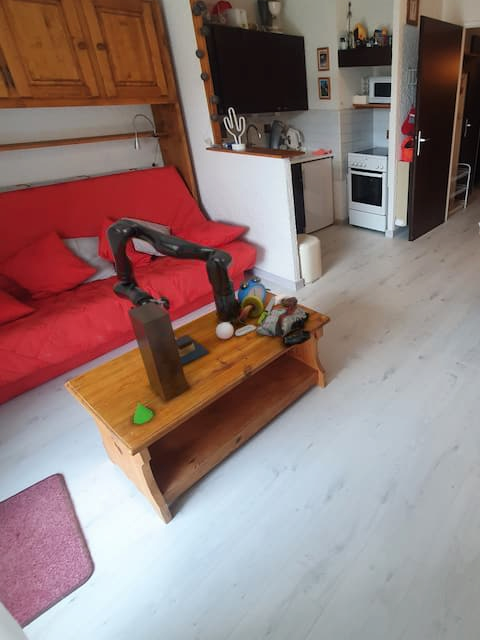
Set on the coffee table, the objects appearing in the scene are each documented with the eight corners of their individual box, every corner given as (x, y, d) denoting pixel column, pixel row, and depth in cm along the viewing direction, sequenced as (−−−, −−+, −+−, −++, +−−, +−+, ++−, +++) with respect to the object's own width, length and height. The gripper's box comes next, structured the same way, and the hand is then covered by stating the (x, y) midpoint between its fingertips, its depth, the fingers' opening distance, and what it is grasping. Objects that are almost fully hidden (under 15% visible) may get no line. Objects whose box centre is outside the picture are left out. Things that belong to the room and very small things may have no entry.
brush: (174, 333, 166) (171, 323, 164) (195, 350, 156) (192, 340, 154) (160, 339, 162) (157, 329, 160) (181, 357, 152) (178, 346, 150)
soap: (237, 338, 166) (237, 336, 166) (232, 332, 169) (232, 331, 168) (257, 329, 172) (257, 327, 172) (252, 324, 175) (252, 322, 174)
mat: (186, 336, 166) (186, 334, 166) (208, 353, 156) (208, 351, 155) (159, 349, 158) (158, 347, 158) (180, 367, 148) (179, 365, 147)
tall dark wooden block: (172, 375, 144) (152, 301, 130) (188, 389, 137) (169, 313, 123) (150, 386, 138) (127, 310, 124) (166, 402, 131) (143, 323, 117)
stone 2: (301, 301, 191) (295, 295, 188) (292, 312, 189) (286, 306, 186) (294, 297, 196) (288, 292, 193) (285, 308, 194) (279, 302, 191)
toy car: (282, 344, 158) (285, 351, 160) (309, 334, 159) (312, 341, 161) (282, 336, 163) (285, 343, 165) (308, 327, 164) (311, 334, 166)
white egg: (217, 320, 160) (219, 319, 167) (212, 337, 159) (214, 336, 166) (241, 326, 162) (242, 325, 170) (236, 343, 162) (237, 341, 169)
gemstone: (147, 407, 129) (142, 394, 126) (157, 415, 126) (152, 401, 123) (129, 418, 125) (124, 405, 122) (139, 427, 122) (134, 413, 119)
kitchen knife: (278, 298, 193) (272, 296, 193) (279, 296, 192) (273, 294, 192) (262, 326, 175) (256, 324, 174) (263, 324, 174) (256, 322, 174)
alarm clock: (246, 313, 184) (242, 285, 177) (238, 309, 187) (234, 282, 180) (267, 302, 193) (264, 276, 186) (259, 299, 196) (256, 272, 190)
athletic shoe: (283, 314, 154) (301, 337, 155) (301, 294, 177) (317, 314, 179) (261, 330, 157) (279, 352, 159) (282, 308, 181) (297, 327, 183)
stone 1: (291, 311, 184) (271, 309, 185) (290, 305, 182) (271, 303, 184) (275, 340, 165) (254, 337, 167) (274, 334, 164) (252, 331, 165)
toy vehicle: (273, 301, 189) (268, 299, 191) (273, 306, 190) (269, 303, 192) (292, 293, 197) (287, 290, 199) (292, 297, 198) (287, 295, 200)
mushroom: (226, 299, 168) (241, 293, 182) (227, 327, 170) (241, 318, 184) (253, 301, 166) (265, 294, 181) (253, 328, 168) (266, 320, 183)
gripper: (122, 298, 164) (138, 310, 155) (155, 286, 174) (172, 298, 165) (126, 312, 168) (142, 326, 158) (159, 300, 177) (176, 312, 168)
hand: (158, 312), depth 161 cm, fingers open, 8 cm apart
